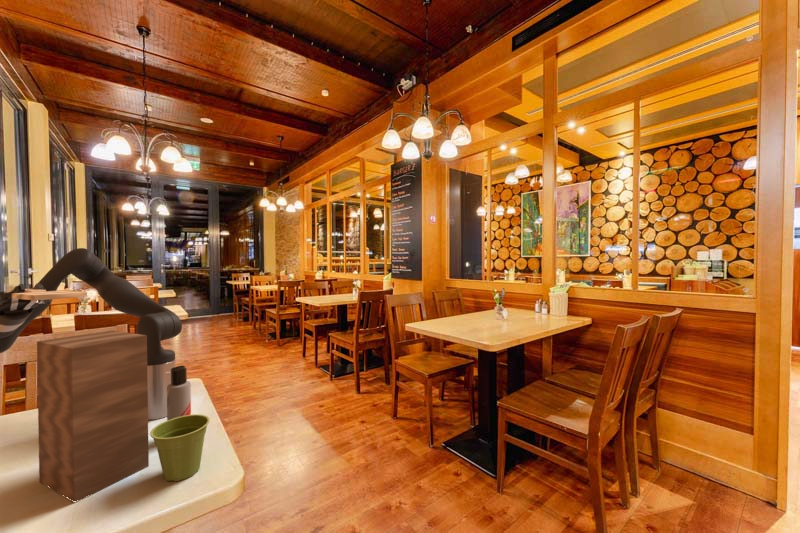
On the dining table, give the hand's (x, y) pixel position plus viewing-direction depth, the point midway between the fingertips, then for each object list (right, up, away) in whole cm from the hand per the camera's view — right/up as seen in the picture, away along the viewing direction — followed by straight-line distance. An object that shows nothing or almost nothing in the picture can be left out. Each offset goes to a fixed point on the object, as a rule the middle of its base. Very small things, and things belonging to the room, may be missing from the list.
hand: (31, 286), depth 93 cm
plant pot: (+50, -43, -13) cm, 67 cm away
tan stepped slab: (+5, -2, -3) cm, 7 cm away
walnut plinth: (+30, -43, -13) cm, 54 cm away
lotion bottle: (+38, -43, +4) cm, 58 cm away
